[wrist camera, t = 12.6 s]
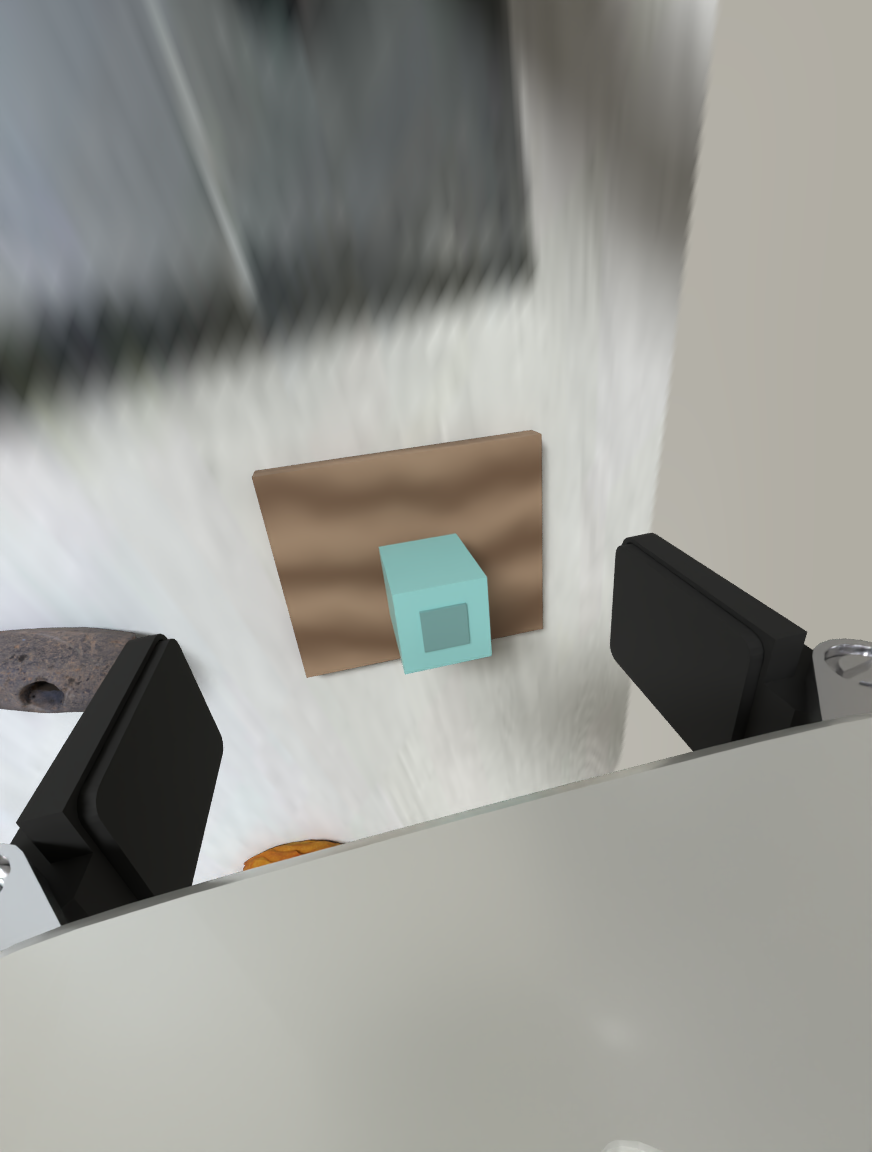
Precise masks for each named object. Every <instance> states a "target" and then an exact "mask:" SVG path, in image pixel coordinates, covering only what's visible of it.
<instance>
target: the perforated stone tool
mask: <svg viewBox="0 0 872 1152" xmlns="http://www.w3.org/2000/svg"><path fill="white" fill-rule="evenodd" d="M132 639H136V637H135V634H134V633H130V632H124V631H115V630H107V629H98V628H88V627H78V628H66V627H64V628H37V629H20V630H8V631H0V709H7V710H17V711H27V712H38V713H62V712H84V711H85V709H86V708H87V706H88V705H89V703H90V701H91V700H92V698H93V696H94V695H95V693H96V691H97V690H98V688H99V687H100V685H101V683H102V682H103V680H104V678H105V677H106V675H107V674H108V672H109V670H110V669H111V667H112V665H113V664H114V662H115V661H116V659H117V657H118V656H119V654H120V652H121V651H122V649H123V648H124V646H125V644H126V643H127V642H128V641H129V640H132Z"/></svg>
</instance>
